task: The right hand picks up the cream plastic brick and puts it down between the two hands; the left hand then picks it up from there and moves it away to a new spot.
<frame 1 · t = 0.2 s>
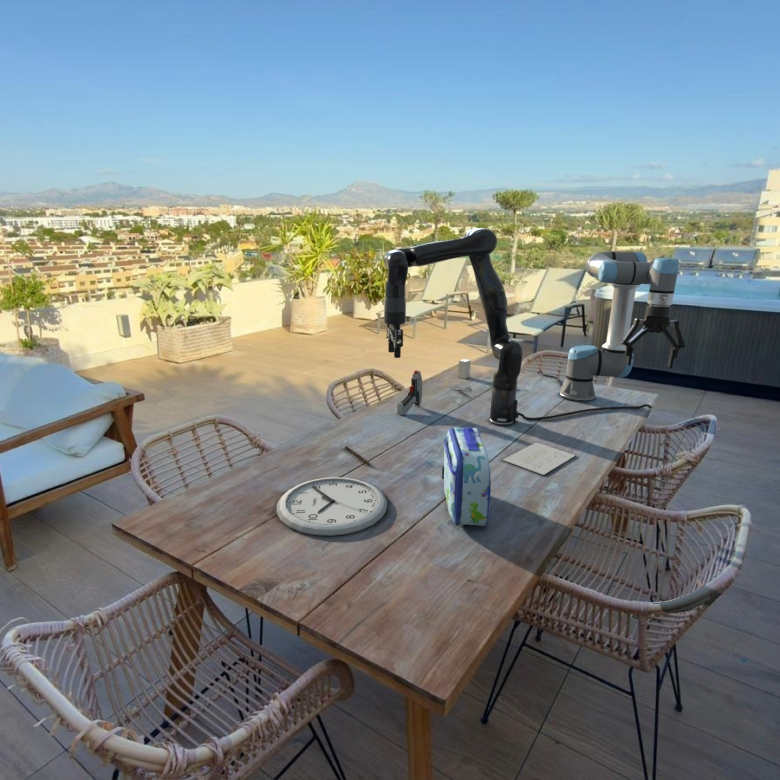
left hand: (394, 354, 187), 29 cm above the table, tool pointing down, fingers open, 8 cm apart
right hand: (648, 366, 183), 28 cm above the table, tool pointing down, fingers open, 13 cm apart
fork: (459, 392, 243), on the table
wall clock: (332, 505, 143), on the table
lunch box: (463, 507, 143), on the table
brick: (463, 377, 268), on the table
brown stick: (356, 456, 173), on the table
invitation card: (539, 458, 174), on the table
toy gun: (409, 410, 218), on the table
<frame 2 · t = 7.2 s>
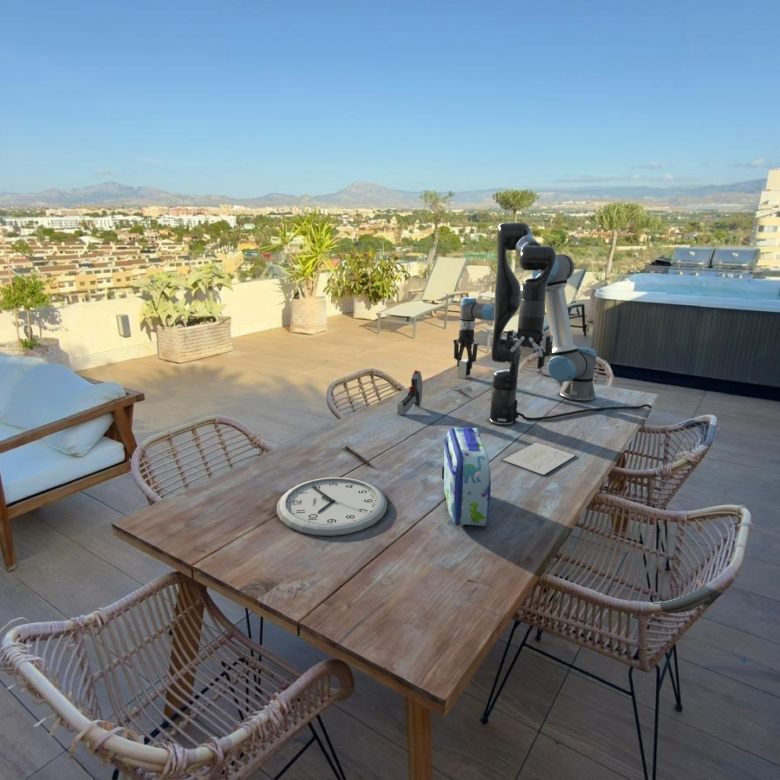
left hand: (526, 365, 163), 32 cm above the table, tool pointing down, fingers open, 8 cm apart
right hand: (464, 373, 267), 2 cm above the table, tool pointing down, fingers closed on brick, 4 cm apart
brick: (463, 377, 268), on the table, touching right hand
everything else where it was.
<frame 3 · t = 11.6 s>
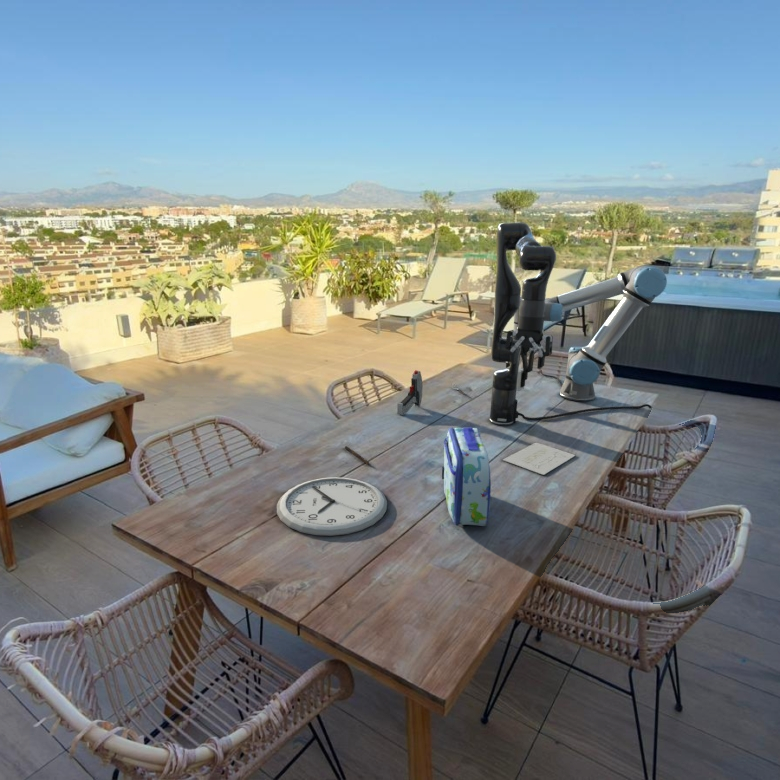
left hand: (526, 365, 163), 32 cm above the table, tool pointing down, fingers open, 8 cm apart
right hand: (517, 385, 232), 7 cm above the table, tool pointing down, fingers closed on brick, 4 cm apart
brick: (517, 389, 233), point 5 cm above the table, touching right hand
everything else where it was.
when the right hand's fingers open (3 cm above the table, at t = 16.3 s): brick drops 2 cm, on the table.
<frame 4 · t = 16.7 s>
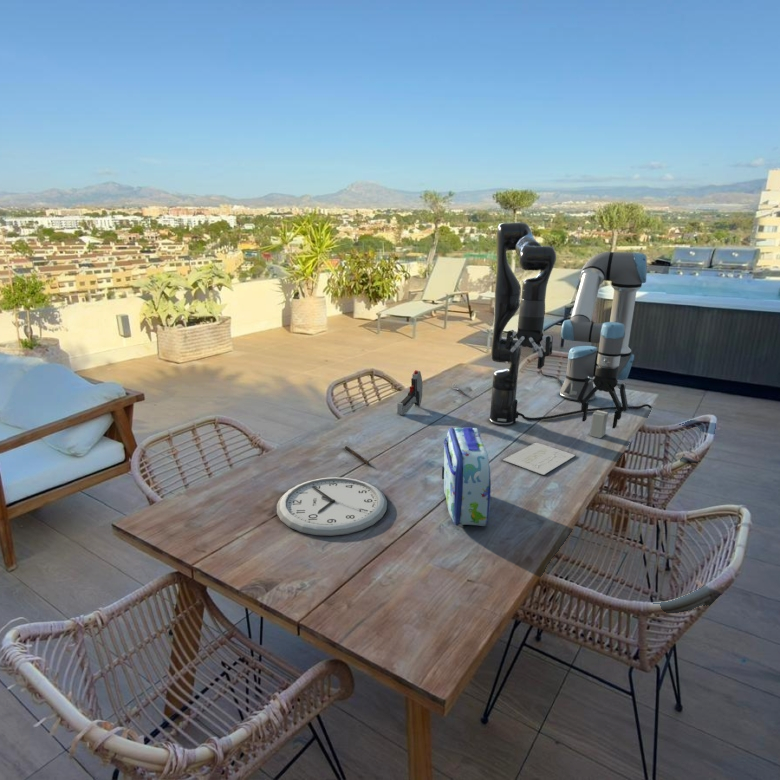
left hand: (526, 365, 163), 32 cm above the table, tool pointing down, fingers open, 8 cm apart
right hand: (599, 423, 194), 4 cm above the table, tool pointing down, fingers open, 10 cm apart
brick: (597, 435, 195), on the table
everything else where it was.
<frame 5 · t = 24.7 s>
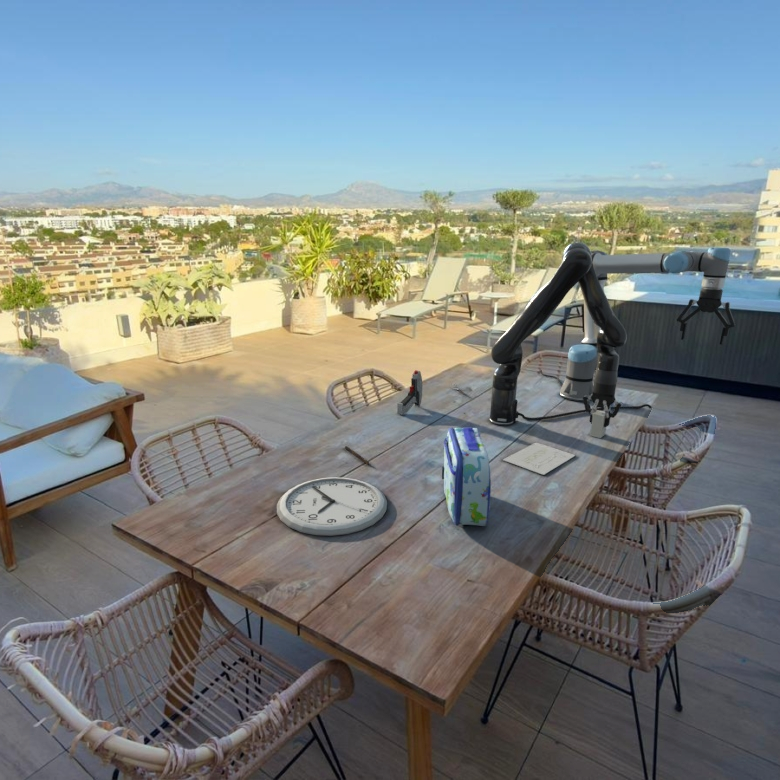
left hand: (598, 424, 194), 4 cm above the table, tool pointing down, fingers closed on brick, 4 cm apart
right hand: (701, 341, 211), 31 cm above the table, tool pointing down, fingers open, 13 cm apart
brick: (597, 435, 195), on the table, touching left hand
everything else where it was.
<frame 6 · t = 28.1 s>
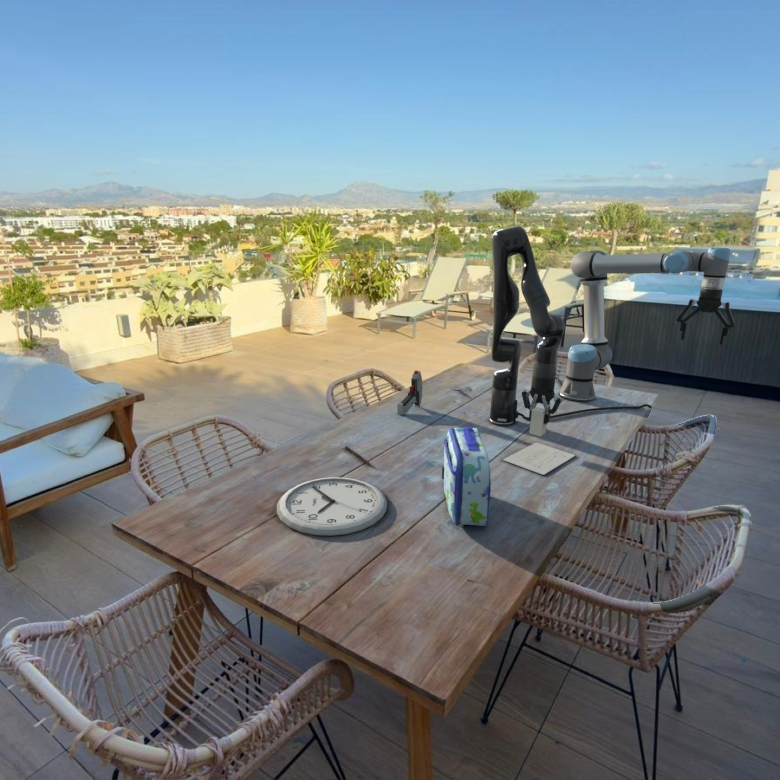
left hand: (538, 421, 180), 10 cm above the table, tool pointing down, fingers closed on brick, 4 cm apart
right hand: (701, 341, 211), 31 cm above the table, tool pointing down, fingers open, 13 cm apart
brick: (537, 432, 181), point 5 cm above the table, touching left hand
everything else where it was.
when the left hand's fingers open (6 cm above the table, at t = 31.7 s): brick drops 1 cm, on the table.
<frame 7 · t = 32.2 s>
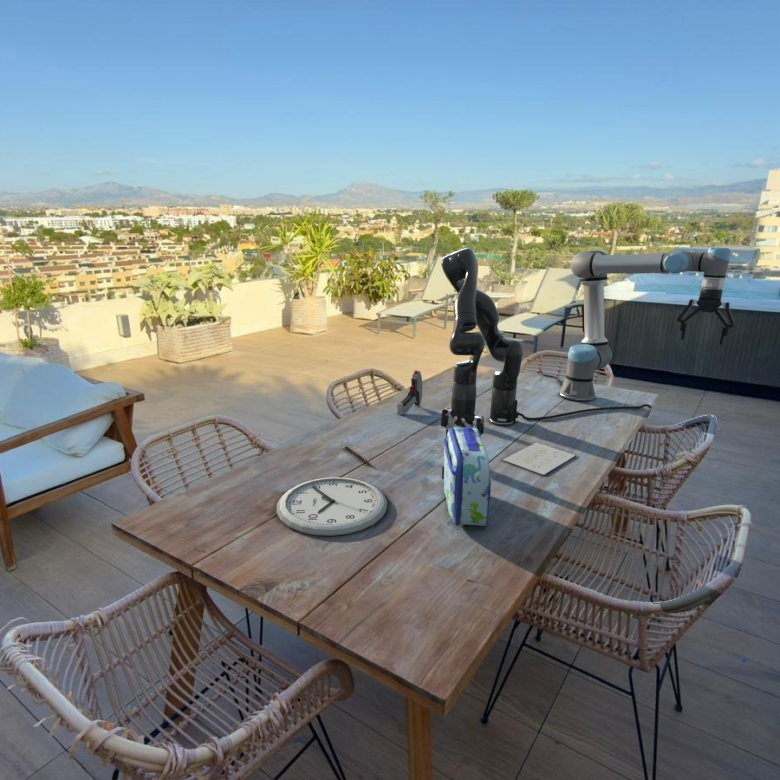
left hand: (460, 443, 168), 7 cm above the table, tool pointing down, fingers open, 8 cm apart
right hand: (701, 341, 211), 31 cm above the table, tool pointing down, fingers open, 13 cm apart
brick: (459, 462, 170), on the table
everything else where it was.
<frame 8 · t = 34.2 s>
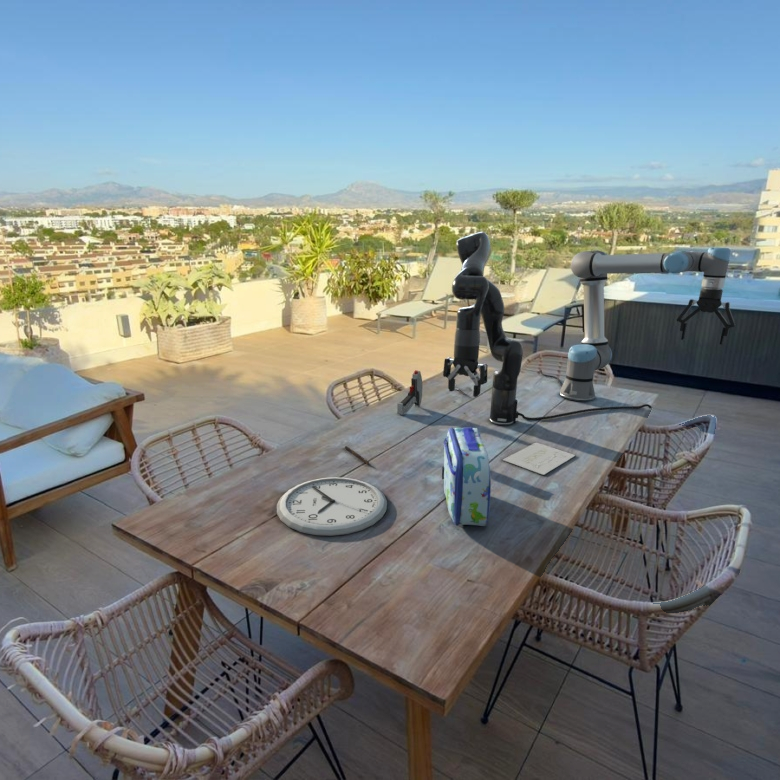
left hand: (463, 393, 163), 24 cm above the table, tool pointing down, fingers open, 8 cm apart
right hand: (701, 341, 211), 31 cm above the table, tool pointing down, fingers open, 13 cm apart
nothing on the table moved.
at the end: brick inside the target area (0.1 cm from its centre), on the table; brick tilted 0°; the two hands never held the brick at the same time; the left hand is holding nothing; the right hand is holding nothing; brick at rest at the end (0.0 cm/s) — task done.
